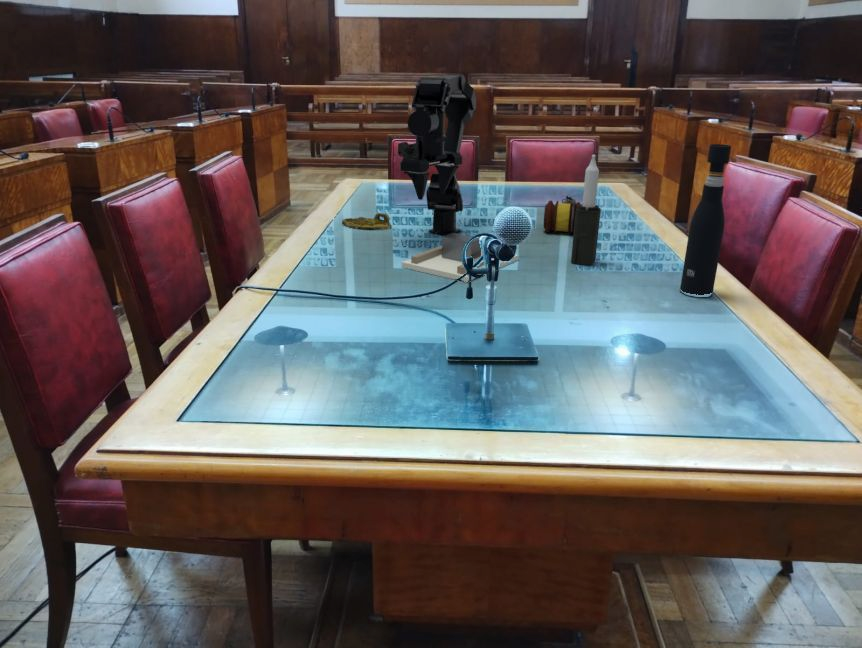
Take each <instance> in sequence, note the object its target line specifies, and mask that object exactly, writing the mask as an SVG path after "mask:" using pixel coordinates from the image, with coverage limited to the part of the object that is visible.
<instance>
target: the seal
mask: <svg viewBox="0 0 862 648" xmlns="http://www.w3.org/2000/svg"><path fill="white" fill-rule="evenodd" d="M381 218H383V219H381ZM341 223H342V225H343V226H344V227H346V228H347V227H348V229H351V228H352V230H359V231H382V230H391V229H392V224H391V222H390V216H389V214H388V213H380V212H377V213H376V214H374V217H373V218H370V217H369V218H367V217H362V216H358V218H352V217H351V218H343V219H342V220H341Z"/></svg>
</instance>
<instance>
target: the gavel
mask: <svg viewBox="0 0 862 648" xmlns="http://www.w3.org/2000/svg"><path fill="white" fill-rule="evenodd" d="M580 204H581V202H580V201H577V200H576V199H575V198H572V197H571V196H568V195H566V197H565V198H562V199H561V202H559V200H556V202H555V204H554V202H553V201H552V199H549V200H548V202H547V203H546V204H545V206H544V212H543V213H544V214H543V229H544V230H545V232H546V233H547V234H549V233H550V232H551V231H552V230H553V233H554V234H556V232H564V233H565V232H567V235H569V234H570V233H571V234H574V224H575V213H576V209H577V208H578V206H579V205H580Z"/></svg>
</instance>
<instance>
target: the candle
mask: <svg viewBox="0 0 862 648" xmlns="http://www.w3.org/2000/svg"><path fill="white" fill-rule="evenodd" d="M596 157H597V156H596V155H595V154H592V155H591V160H590V163H589V164H588V166H587V167H586V169H585V173H584V183H583V184H584V185H583V193H582V195H583V196H582V203H580V205H579V206H578V208H577V209H576V213H575V224H574V233H573V235H572V247H571V257H570V258H571V259H570V263H571V264H573V265H581V266H586V267H591V266H593V265H594V264H595V263H596V260H597V259H596V258H597V257H596V256H597V249H598V239H599V229H600V220H601V213H602V212H601V211H602V209H601V208H600V206H599V205H596V204H597V194H598V193H597V192H598V183H599V173H600V170H599V167H598V166H597V161H596Z"/></svg>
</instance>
